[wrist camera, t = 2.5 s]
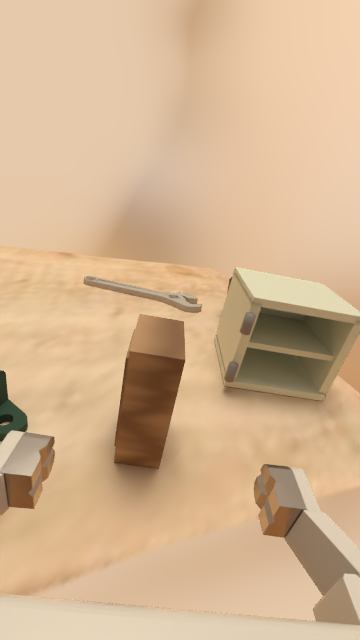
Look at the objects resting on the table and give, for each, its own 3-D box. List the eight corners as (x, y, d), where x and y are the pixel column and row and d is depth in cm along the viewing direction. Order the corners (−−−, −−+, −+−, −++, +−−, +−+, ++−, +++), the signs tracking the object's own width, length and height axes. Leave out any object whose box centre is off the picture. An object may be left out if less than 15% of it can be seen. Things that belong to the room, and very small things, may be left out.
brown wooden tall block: (111, 462, 25) (125, 350, 20) (123, 412, 31) (137, 313, 25) (158, 468, 26) (185, 359, 20) (162, 417, 31) (183, 321, 26)
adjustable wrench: (80, 286, 59) (81, 278, 58) (95, 277, 65) (95, 270, 64) (197, 316, 57) (199, 308, 56) (201, 304, 62) (203, 297, 62)
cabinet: (221, 392, 37) (251, 301, 31) (210, 339, 49) (231, 266, 43) (327, 408, 38) (375, 323, 32) (291, 352, 50) (322, 283, 44)
